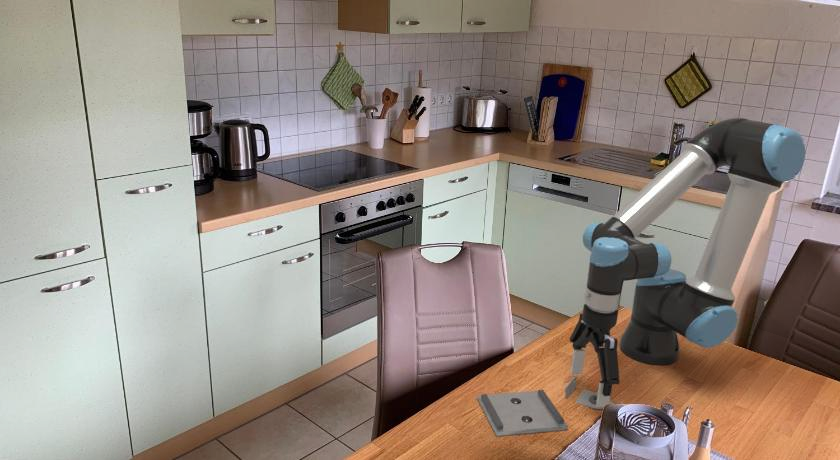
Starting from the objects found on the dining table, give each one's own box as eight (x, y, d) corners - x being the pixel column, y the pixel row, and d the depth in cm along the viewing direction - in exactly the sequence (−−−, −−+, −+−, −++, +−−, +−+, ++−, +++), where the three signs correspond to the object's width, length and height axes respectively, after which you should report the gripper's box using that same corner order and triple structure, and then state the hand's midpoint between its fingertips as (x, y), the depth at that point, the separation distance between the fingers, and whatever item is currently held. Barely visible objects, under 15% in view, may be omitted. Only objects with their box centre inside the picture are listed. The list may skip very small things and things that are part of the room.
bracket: (606, 415, 147) (608, 401, 145) (563, 399, 152) (565, 387, 151) (614, 401, 152) (616, 388, 151) (573, 387, 157) (575, 375, 156)
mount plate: (542, 393, 153) (543, 387, 152) (567, 429, 140) (568, 422, 139) (477, 398, 149) (478, 392, 149) (496, 436, 136) (497, 429, 136)
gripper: (562, 284, 155) (552, 362, 162) (612, 333, 132) (598, 422, 139) (591, 283, 157) (580, 361, 164) (645, 331, 134) (630, 419, 141)
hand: (588, 389), depth 151 cm, fingers open, 13 cm apart
